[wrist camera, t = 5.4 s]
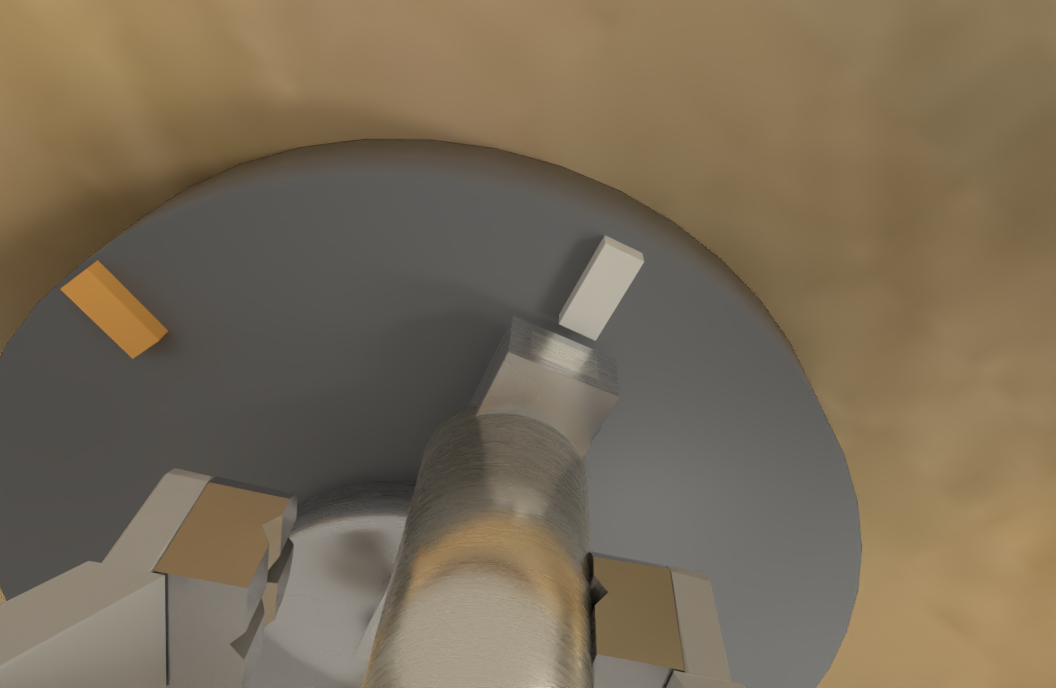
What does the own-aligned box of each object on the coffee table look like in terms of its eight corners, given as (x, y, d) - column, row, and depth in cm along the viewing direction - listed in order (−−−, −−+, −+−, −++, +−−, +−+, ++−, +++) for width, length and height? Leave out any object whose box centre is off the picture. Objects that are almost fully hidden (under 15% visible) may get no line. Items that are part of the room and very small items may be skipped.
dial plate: (590, 824, 22) (592, 919, 20) (-9, 626, 19) (-78, 714, 17) (1013, 385, 14) (1085, 466, 12) (128, -53, 11) (33, -40, 9)
